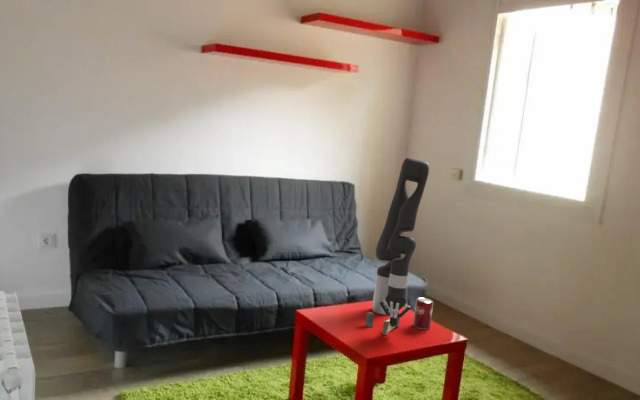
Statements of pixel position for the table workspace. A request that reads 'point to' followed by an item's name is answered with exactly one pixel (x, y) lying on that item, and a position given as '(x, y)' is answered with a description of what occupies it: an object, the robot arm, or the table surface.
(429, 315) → the soda can
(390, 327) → the gate
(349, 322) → the table surface
